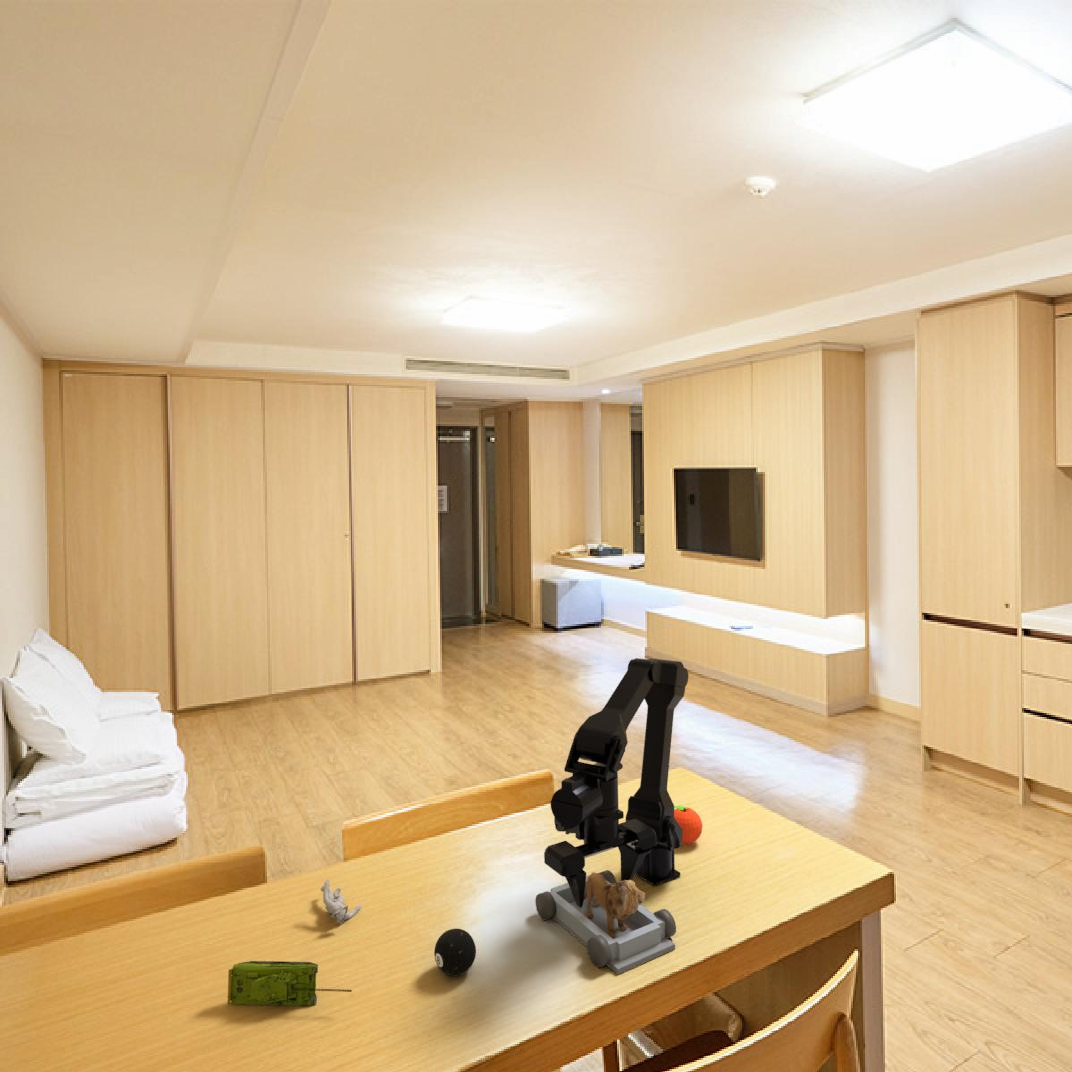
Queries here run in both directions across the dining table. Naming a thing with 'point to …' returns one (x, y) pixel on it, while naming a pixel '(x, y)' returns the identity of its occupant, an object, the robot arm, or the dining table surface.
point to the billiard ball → (455, 952)
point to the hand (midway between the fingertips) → (602, 897)
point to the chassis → (619, 952)
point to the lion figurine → (613, 899)
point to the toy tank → (273, 983)
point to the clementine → (688, 824)
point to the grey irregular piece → (336, 904)
